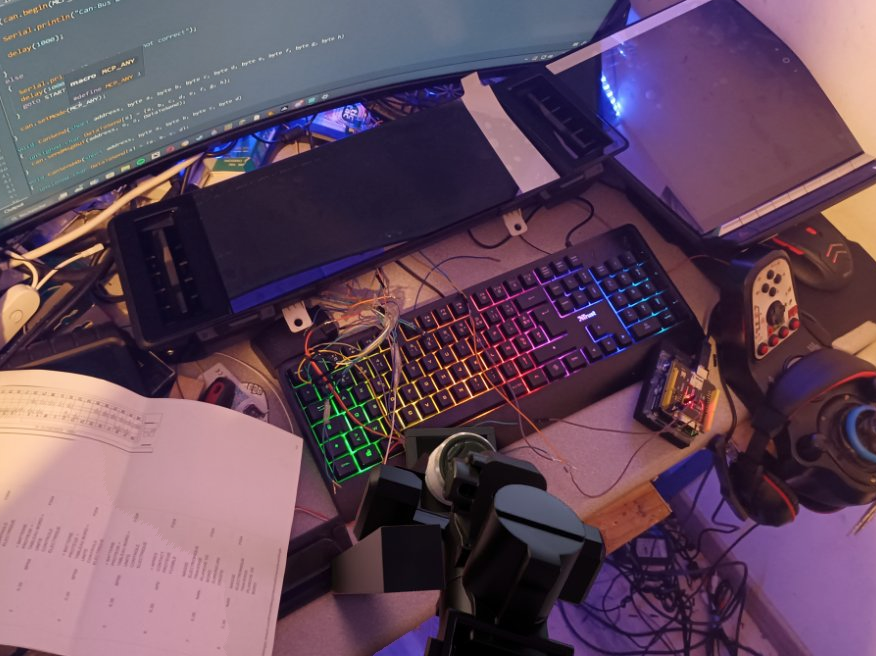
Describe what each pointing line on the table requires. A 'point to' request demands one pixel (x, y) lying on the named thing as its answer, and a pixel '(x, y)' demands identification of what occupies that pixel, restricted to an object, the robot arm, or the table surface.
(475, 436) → the camera lens
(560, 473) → the table surface
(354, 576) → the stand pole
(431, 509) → the black square open tray
